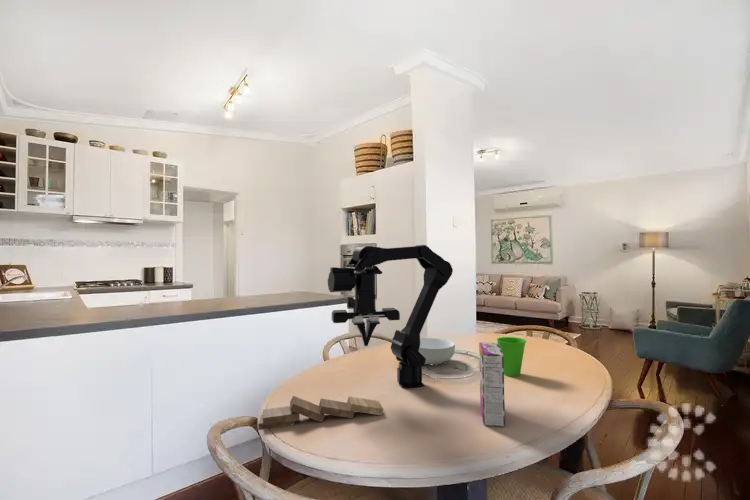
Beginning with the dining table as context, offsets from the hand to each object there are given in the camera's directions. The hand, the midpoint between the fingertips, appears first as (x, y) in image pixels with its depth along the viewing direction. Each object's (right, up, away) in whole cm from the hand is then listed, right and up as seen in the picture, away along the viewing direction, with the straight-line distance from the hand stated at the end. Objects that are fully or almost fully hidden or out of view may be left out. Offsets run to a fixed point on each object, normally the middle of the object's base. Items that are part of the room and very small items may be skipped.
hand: (365, 345), depth 108 cm
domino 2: (-16, -13, -18) cm, 28 cm away
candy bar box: (+30, -13, -17) cm, 37 cm away
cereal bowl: (+23, -13, +28) cm, 39 cm away
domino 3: (-10, -12, -17) cm, 23 cm away
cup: (+46, -13, +14) cm, 50 cm away
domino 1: (-16, -11, -18) cm, 26 cm away
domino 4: (-3, -12, -15) cm, 19 cm away
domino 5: (+4, -12, -13) cm, 18 cm away
